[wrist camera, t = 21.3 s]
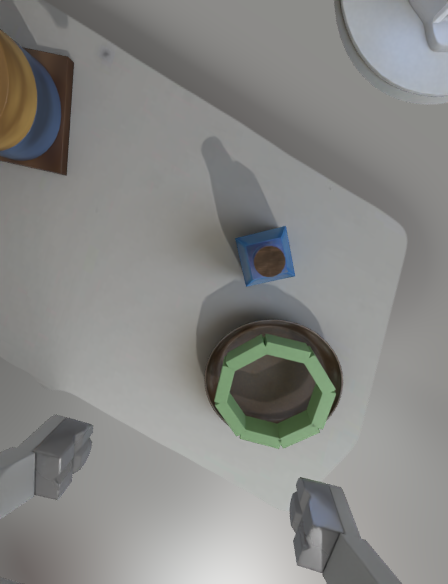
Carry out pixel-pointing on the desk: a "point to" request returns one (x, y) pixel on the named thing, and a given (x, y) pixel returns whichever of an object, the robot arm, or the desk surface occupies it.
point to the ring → (293, 426)
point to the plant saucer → (273, 373)
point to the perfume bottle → (265, 256)
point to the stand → (34, 107)
